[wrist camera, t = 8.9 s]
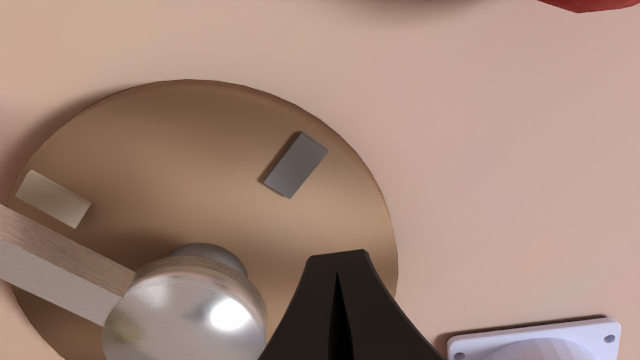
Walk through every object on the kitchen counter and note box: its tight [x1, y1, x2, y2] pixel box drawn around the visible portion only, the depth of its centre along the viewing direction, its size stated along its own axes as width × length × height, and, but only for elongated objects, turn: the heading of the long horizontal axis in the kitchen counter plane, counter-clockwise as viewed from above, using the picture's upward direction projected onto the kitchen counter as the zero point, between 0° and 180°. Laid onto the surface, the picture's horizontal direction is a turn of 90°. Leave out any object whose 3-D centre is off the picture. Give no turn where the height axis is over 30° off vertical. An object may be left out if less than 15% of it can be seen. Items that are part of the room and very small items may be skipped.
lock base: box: [6, 79, 398, 360], centre depth 22 cm, size 16×16×4 cm
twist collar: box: [0, 204, 268, 360], centre depth 18 cm, size 14×6×2 cm, turn 55°
